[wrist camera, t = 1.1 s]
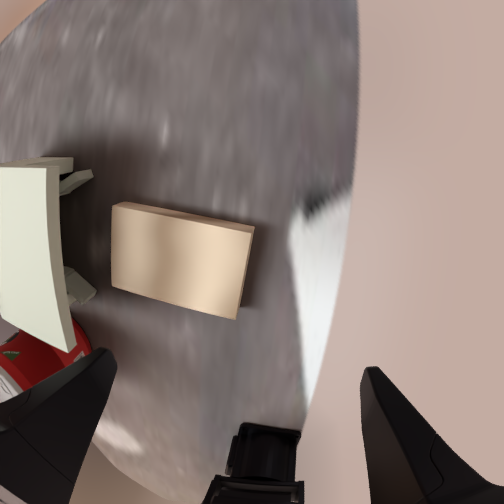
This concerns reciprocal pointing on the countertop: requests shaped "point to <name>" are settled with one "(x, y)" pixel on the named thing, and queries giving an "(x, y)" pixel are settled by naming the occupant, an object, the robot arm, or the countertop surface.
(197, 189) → the countertop surface
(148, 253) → the panel
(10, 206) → the pale green angular bracket
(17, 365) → the canned food
